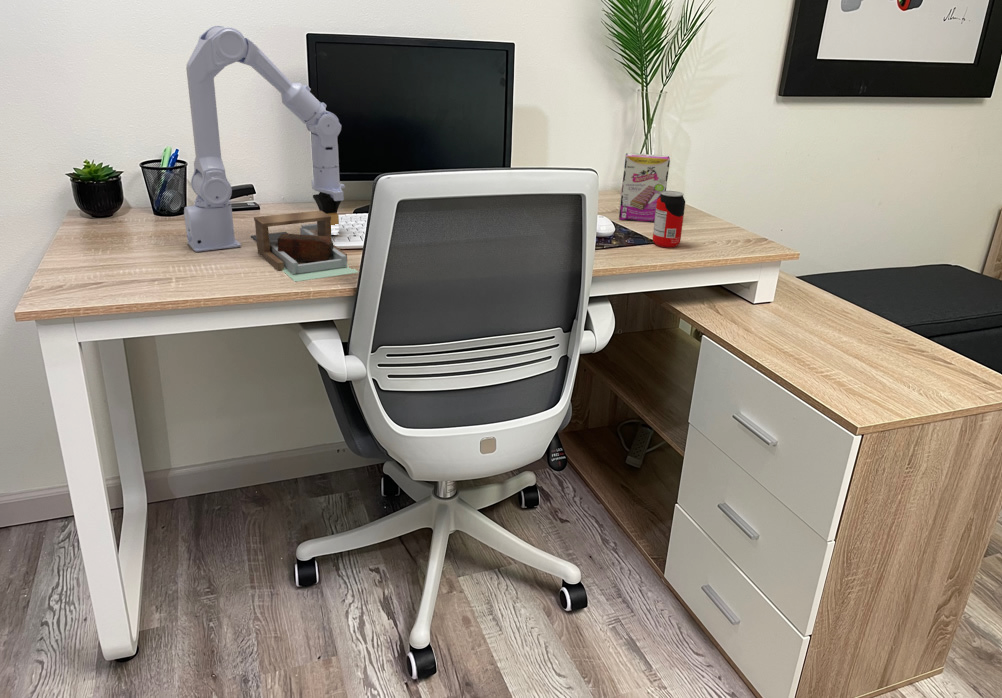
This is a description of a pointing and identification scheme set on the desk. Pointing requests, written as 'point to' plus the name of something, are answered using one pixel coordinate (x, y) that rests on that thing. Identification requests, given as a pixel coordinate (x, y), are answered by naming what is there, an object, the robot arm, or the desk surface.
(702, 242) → the desk surface
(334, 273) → the mat
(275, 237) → the pit marker
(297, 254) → the brick
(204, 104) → the robot arm
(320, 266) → the tray
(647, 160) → the candy bar box
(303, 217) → the tunnel
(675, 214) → the beverage can
